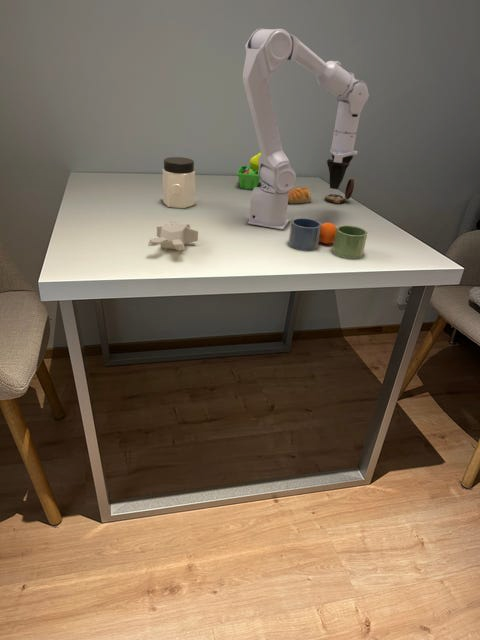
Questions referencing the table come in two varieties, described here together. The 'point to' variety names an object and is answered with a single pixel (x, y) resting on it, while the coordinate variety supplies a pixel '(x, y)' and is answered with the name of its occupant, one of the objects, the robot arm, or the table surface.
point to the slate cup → (304, 234)
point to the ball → (327, 233)
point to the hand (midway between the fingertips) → (335, 185)
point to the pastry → (299, 195)
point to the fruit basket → (249, 174)
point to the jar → (178, 182)
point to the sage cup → (349, 242)
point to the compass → (339, 198)
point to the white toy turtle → (174, 236)
